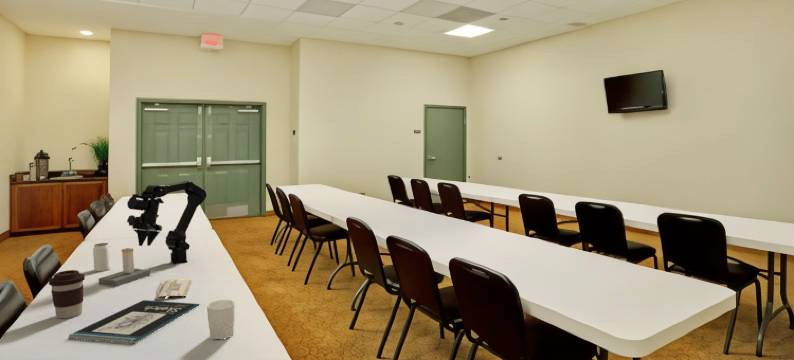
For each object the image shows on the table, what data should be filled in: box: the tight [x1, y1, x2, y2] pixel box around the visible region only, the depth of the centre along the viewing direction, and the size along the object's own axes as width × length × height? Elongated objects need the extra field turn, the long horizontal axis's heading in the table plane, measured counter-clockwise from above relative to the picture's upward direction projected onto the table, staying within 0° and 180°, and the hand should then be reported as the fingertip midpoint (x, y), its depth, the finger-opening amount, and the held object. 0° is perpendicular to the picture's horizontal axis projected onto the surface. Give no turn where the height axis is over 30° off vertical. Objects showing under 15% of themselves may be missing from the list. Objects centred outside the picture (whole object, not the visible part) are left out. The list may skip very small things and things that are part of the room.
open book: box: [154, 278, 193, 301], centre depth 180 cm, size 23×12×2 cm, turn 19°
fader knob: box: [121, 247, 135, 273], centre depth 195 cm, size 3×3×10 cm
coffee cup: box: [48, 269, 86, 319], centre depth 154 cm, size 10×10×15 cm
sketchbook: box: [68, 299, 201, 346], centre depth 150 cm, size 23×32×2 cm
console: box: [98, 267, 150, 287], centre depth 194 cm, size 16×10×2 cm, turn 161°
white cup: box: [206, 299, 236, 340], centre depth 138 cm, size 8×8×10 cm
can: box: [92, 242, 112, 272], centre depth 209 cm, size 6×6×12 cm
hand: (144, 245), depth 204 cm, fingers open, 9 cm apart
